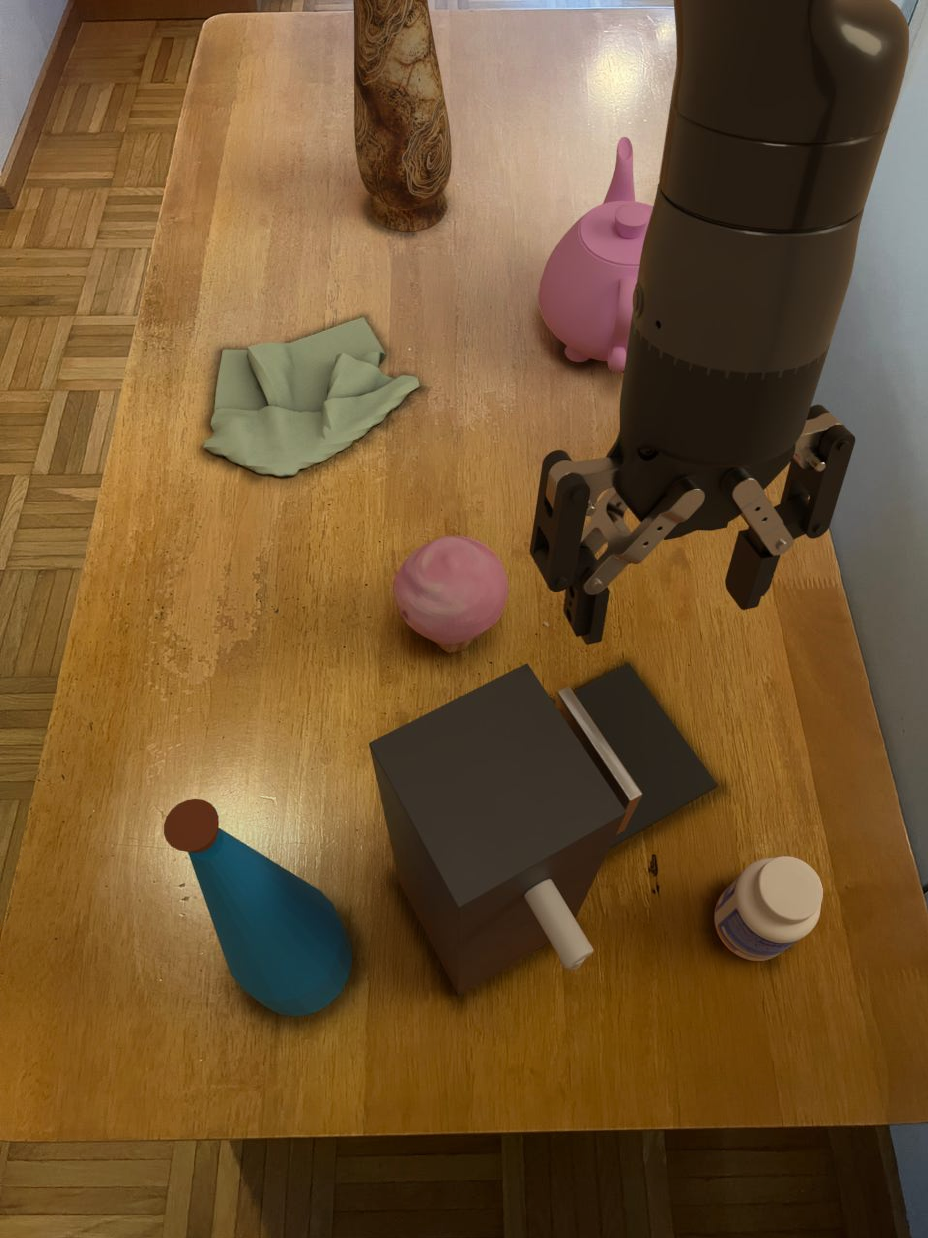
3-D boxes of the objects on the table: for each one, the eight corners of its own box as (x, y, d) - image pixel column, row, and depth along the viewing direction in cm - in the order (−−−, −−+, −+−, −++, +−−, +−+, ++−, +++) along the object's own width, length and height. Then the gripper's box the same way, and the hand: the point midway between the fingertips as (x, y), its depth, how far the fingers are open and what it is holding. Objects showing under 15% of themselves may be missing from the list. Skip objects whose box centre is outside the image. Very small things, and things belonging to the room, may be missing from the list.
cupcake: (456, 567, 81) (456, 497, 72) (526, 631, 78) (534, 566, 69) (378, 627, 78) (367, 561, 69) (447, 696, 75) (445, 636, 66)
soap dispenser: (601, 984, 64) (679, 890, 42) (488, 1054, 62) (505, 995, 39) (505, 822, 70) (527, 662, 47) (398, 881, 67) (368, 742, 45)
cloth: (183, 470, 86) (176, 453, 84) (238, 307, 97) (233, 288, 95) (400, 490, 85) (398, 473, 83) (431, 323, 96) (430, 305, 94)
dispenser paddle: (624, 830, 52) (643, 794, 47) (613, 837, 52) (630, 801, 47) (558, 729, 55) (568, 684, 50) (547, 735, 55) (556, 691, 50)
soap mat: (716, 787, 71) (718, 785, 71) (584, 863, 68) (585, 861, 68) (627, 665, 76) (629, 662, 76) (501, 731, 73) (502, 728, 73)
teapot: (537, 249, 102) (547, 130, 90) (679, 255, 102) (708, 135, 90) (533, 398, 91) (545, 284, 79) (693, 405, 91) (728, 292, 79)
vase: (451, 236, 103) (448, -73, 77) (355, 236, 103) (320, -73, 77) (452, 178, 108) (449, -131, 82) (361, 177, 108) (329, -131, 82)
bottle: (328, 888, 67) (238, 716, 41) (370, 983, 64) (301, 863, 38) (232, 937, 66) (73, 790, 39) (270, 1037, 62) (125, 951, 36)
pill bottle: (795, 962, 65) (845, 933, 56) (717, 962, 65) (756, 933, 56) (781, 883, 68) (827, 844, 59) (707, 884, 67) (742, 845, 59)
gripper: (597, 393, 31) (559, 701, 43) (954, 334, 34) (829, 637, 46) (523, 294, 36) (507, 593, 48) (839, 250, 39) (753, 542, 51)
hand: (664, 614), depth 47 cm, fingers open, 8 cm apart
